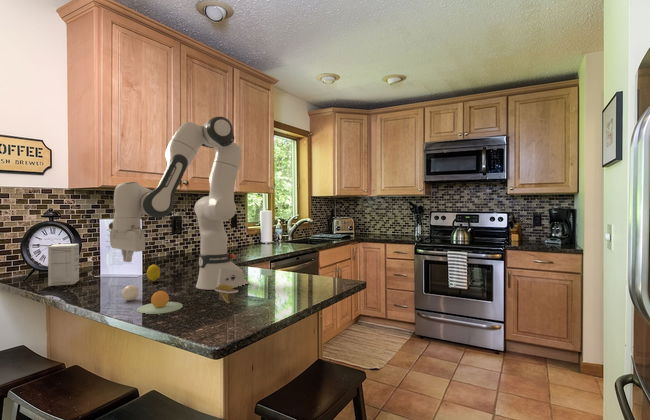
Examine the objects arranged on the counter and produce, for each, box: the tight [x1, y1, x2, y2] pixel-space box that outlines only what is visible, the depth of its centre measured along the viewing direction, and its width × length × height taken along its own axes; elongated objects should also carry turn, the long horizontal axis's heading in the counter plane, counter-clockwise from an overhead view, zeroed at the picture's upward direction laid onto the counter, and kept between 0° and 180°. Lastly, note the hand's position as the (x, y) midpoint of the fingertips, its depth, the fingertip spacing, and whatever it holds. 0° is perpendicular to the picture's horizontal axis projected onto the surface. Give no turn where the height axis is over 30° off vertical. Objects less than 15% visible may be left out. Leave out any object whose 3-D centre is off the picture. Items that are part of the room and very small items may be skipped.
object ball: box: [150, 290, 170, 308], centre depth 120 cm, size 6×6×6 cm
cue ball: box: [121, 284, 140, 302], centre depth 128 cm, size 6×6×6 cm
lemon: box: [146, 263, 161, 283], centre depth 160 cm, size 6×6×8 cm
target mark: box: [136, 301, 184, 315], centre depth 119 cm, size 14×14×1 cm
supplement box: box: [47, 243, 80, 287], centre depth 154 cm, size 10×9×17 cm
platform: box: [214, 284, 239, 304], centre depth 128 cm, size 12×18×7 cm, turn 58°
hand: (127, 261), depth 133 cm, fingers closed
